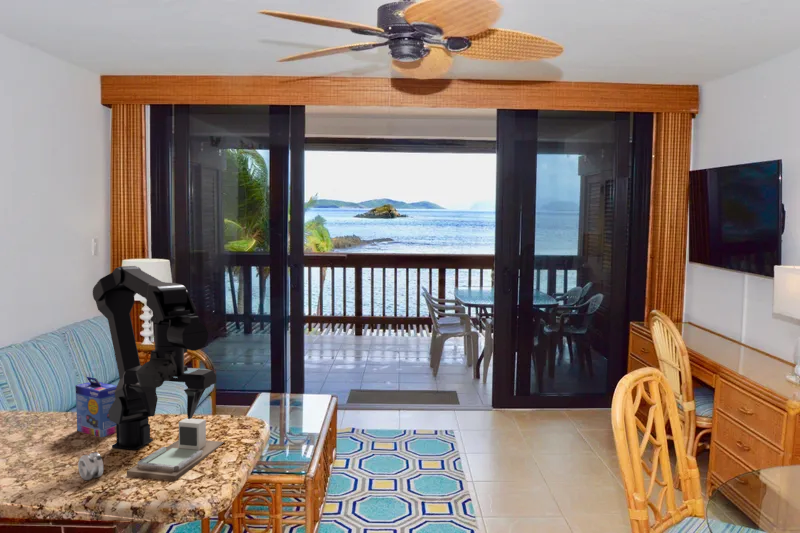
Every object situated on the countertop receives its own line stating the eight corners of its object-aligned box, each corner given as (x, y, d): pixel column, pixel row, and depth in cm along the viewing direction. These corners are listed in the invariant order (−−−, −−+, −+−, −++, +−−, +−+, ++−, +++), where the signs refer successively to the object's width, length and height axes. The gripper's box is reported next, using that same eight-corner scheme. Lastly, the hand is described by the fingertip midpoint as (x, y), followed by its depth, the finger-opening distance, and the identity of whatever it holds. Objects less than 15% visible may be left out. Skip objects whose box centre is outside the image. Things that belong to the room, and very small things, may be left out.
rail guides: (135, 467, 124) (135, 463, 124) (163, 451, 134) (163, 446, 134) (177, 472, 122) (177, 467, 122) (202, 454, 132) (202, 450, 132)
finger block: (177, 448, 135) (177, 422, 135) (186, 443, 139) (185, 418, 138) (198, 450, 134) (197, 424, 134) (205, 445, 137) (205, 419, 137)
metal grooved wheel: (103, 479, 121) (103, 455, 121) (88, 484, 119) (88, 459, 119) (92, 473, 124) (91, 449, 124) (77, 477, 122) (76, 453, 122)
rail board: (126, 476, 123) (126, 470, 123) (181, 443, 142) (181, 437, 142) (175, 481, 120) (175, 475, 120) (224, 447, 140) (224, 441, 140)
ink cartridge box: (75, 433, 148) (73, 375, 147) (95, 427, 153) (94, 371, 152) (100, 440, 143) (99, 381, 142) (121, 434, 148) (120, 376, 147)
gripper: (104, 349, 121) (106, 425, 122) (188, 354, 117) (189, 432, 118) (139, 339, 132) (140, 409, 133) (217, 343, 128) (217, 415, 129)
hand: (170, 416), depth 128 cm, fingers open, 9 cm apart
